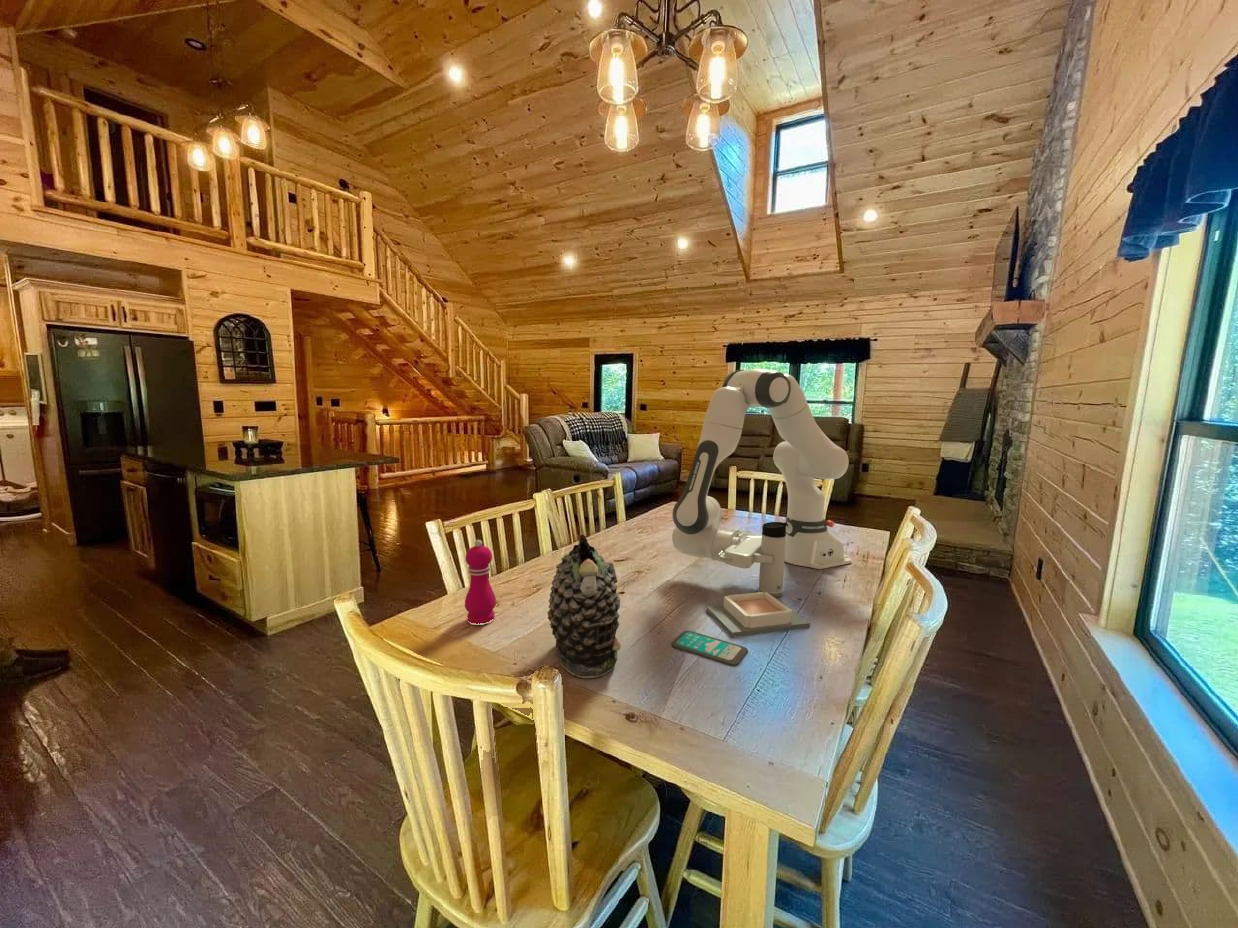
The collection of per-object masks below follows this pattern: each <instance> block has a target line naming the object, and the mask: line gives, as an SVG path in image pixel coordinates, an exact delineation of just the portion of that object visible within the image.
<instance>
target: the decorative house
mask: <svg viewBox="0 0 1238 928" xmlns="http://www.w3.org/2000/svg"><path fill="white" fill-rule="evenodd" d="M560 559H561V562H560V563H558V564H556V566H555V567H556V571H555V574H554V576H553V579H552V581H551V585H552V586H551V587H550V593H549V599H548V602H549V605H548V608H549V609H548V611H547V619H548V621H549V622H550V624H549V626H550V628H551V631H552V633H551V634H552V635H553V636H554V639H555V649H556V653H557V656H558V660H559V663H560V665H561V666H562V667H563V669H565V670H566V671H567V672H568V673H570V674H571V675H573V676H576V677H578V678H583V679H593V678H598V677H601V676H605V675H606V674H607V673H609V672H610V671H612V670H613V669H614V668H615V666H616V663H617V661H618V651H619V650H621V649H622V644H621V643H620V641H619V640H618V638H617V637H616V636H617V634H616V633H617V631H618V628H619V626H620V623H619V621H618V620H619V618H620V614H619V612H618V610H619V609H620V607H621V600H620V597H619V595H618V594H617V588H618V585H617V584H616V583H618V576H617V573H616V569H615V566H614V563H613V562H612V561H609V562H608V561H607V562H606V560H605V558H604V557H603V556H602V555H600V554H599V553H598V550H597V549H595V547H594V546H592V545H590V544H589V542H588V540H587V537H586V536H585V535H584V534H581V535H580V537H579V539H578V544H574V545H573V547H572V549H571V550H570V551H569V552H568V553H567V554H565V555H563V557H561V558H560Z"/></svg>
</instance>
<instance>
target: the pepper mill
mask: <svg viewBox="0 0 1238 928" xmlns="http://www.w3.org/2000/svg"><path fill="white" fill-rule="evenodd" d="M492 560H493V553H492V551H491V549H490V548H489V547H487V546H486V545H483V541H482V540H481V539H477V540H475V541H474V546H472V547H470V548H469V549H468V550H467V552H466V553H465V562H466V564H467V565H468V567H467V568H468V569H467V570H468V574H469V576H470V583H469V584H470V585H469V588H468V591H467V593H466V596H465V600H464V608H465V610H466V612H468V613H467V616H466V617H467V622H468V621H469V622H471V623H476V624H478V623H479V624H480V623H486V622H489V621H490V620H492V619H494V620H495V618H494V617H495V611H494V608H495V607H496V604H497V598H496V595H495V592H494V590H493V589H492V586H491V584H490V579H489V573H491V565H490V563H491V562H492Z"/></svg>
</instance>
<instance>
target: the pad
mask: <svg viewBox="0 0 1238 928" xmlns="http://www.w3.org/2000/svg"><path fill="white" fill-rule="evenodd" d="M735 603H736V604H737V605H738V606H739V607H741V608H742V609H743V610H744V611H745V612H746V613H747V614H749V615H751V614H759V613H768V612H776V611H778V610H777V609H776V608H775V607H773V606H772V605H771V604H769V603H768V602H767V601H765V600H764V599H759V600H750V601H741V602H735Z"/></svg>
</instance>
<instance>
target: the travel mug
mask: <svg viewBox="0 0 1238 928" xmlns="http://www.w3.org/2000/svg"><path fill="white" fill-rule="evenodd" d="M786 526H787V527H788V524H787V523H786V521H785V522H781V521H769V522H765V523H763V524H762V529H761V531H762V532H761V536H762V540H761V555H767V554H768V555H773V556H774V561H773V562H772V563H767V562H763V563H759V577H758V578H759V580H758V592H763V593H765V592H767V593H769V594H770V595H771V596H773V597H774V598H780V597H782V596H783V593H784V592H783V591H784V590H783V588H784V577H785V575H784V574H785V561H784V560H785V544H786Z"/></svg>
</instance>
